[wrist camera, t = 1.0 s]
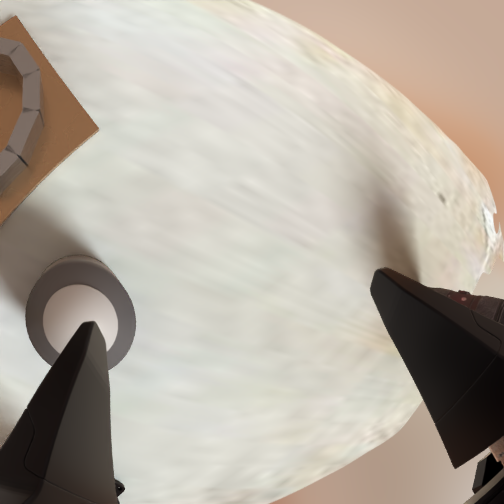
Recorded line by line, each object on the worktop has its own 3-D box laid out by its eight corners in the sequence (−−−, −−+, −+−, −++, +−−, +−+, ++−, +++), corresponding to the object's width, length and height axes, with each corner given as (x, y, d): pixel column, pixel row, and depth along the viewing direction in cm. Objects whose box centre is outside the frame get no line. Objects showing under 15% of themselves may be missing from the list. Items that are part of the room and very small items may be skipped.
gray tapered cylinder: (85, 364, 17) (90, 397, 13) (17, 303, 14) (3, 325, 11) (142, 301, 19) (159, 320, 15) (77, 234, 16) (77, 237, 13)
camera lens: (394, 302, 35) (504, 327, 22) (422, 273, 38) (518, 288, 26) (397, 351, 37) (492, 381, 24) (424, 320, 41) (509, 341, 28)
